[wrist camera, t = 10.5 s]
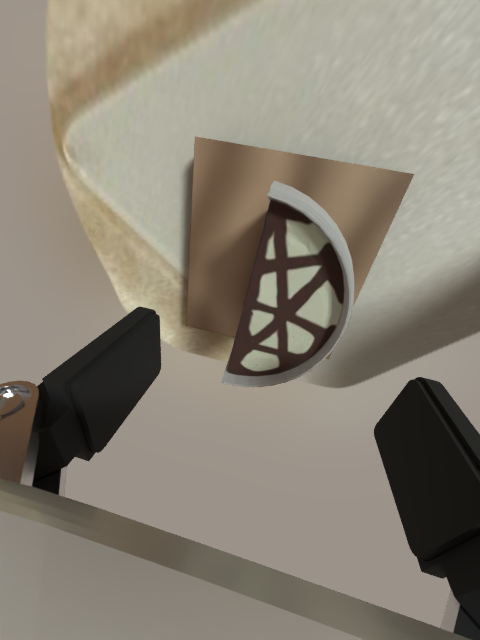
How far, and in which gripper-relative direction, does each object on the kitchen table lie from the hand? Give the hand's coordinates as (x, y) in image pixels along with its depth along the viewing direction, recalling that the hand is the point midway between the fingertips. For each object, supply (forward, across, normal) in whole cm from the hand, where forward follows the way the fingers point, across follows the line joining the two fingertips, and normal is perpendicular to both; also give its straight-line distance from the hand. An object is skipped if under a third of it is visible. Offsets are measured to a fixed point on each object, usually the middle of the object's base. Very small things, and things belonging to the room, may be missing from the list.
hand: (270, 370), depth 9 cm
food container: (+14, -1, 0) cm, 14 cm away
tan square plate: (+17, +1, 0) cm, 17 cm away
